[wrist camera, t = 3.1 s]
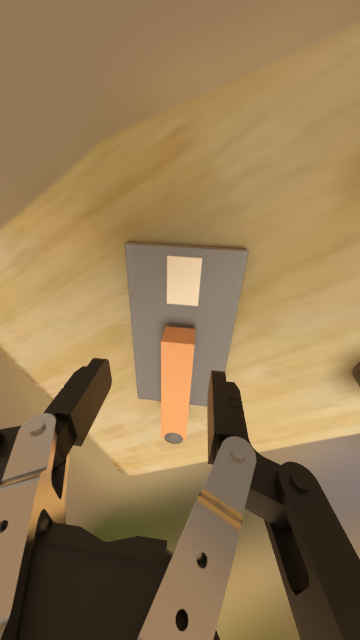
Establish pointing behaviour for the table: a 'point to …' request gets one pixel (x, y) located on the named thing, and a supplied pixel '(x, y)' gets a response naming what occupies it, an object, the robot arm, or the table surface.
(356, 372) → the beverage cup
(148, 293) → the label board
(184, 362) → the swing bar
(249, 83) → the table surface
